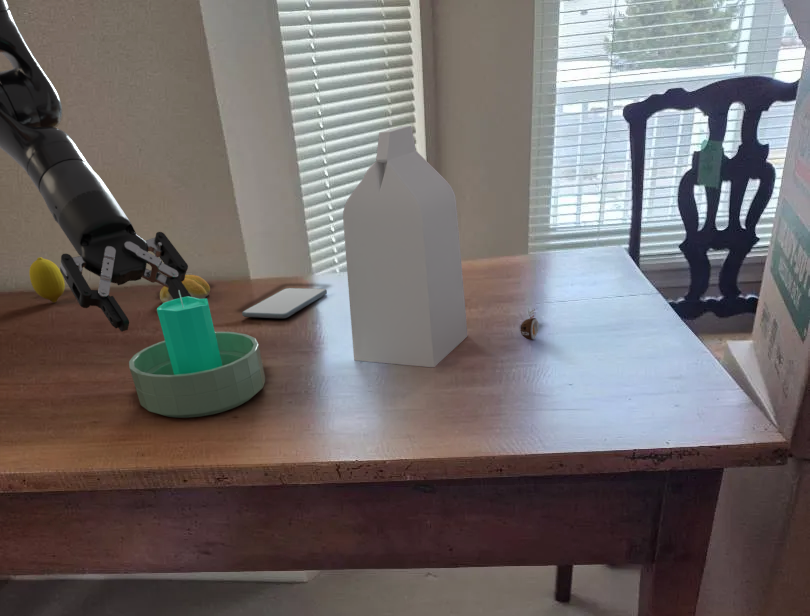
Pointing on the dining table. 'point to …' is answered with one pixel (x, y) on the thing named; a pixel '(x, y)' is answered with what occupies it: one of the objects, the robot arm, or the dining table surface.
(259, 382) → the bowl
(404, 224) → the milk
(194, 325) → the candle
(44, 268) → the lemon
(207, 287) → the bread roll
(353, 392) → the dining table surface
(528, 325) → the chocolate
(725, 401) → the dining table surface
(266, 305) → the smartphone
